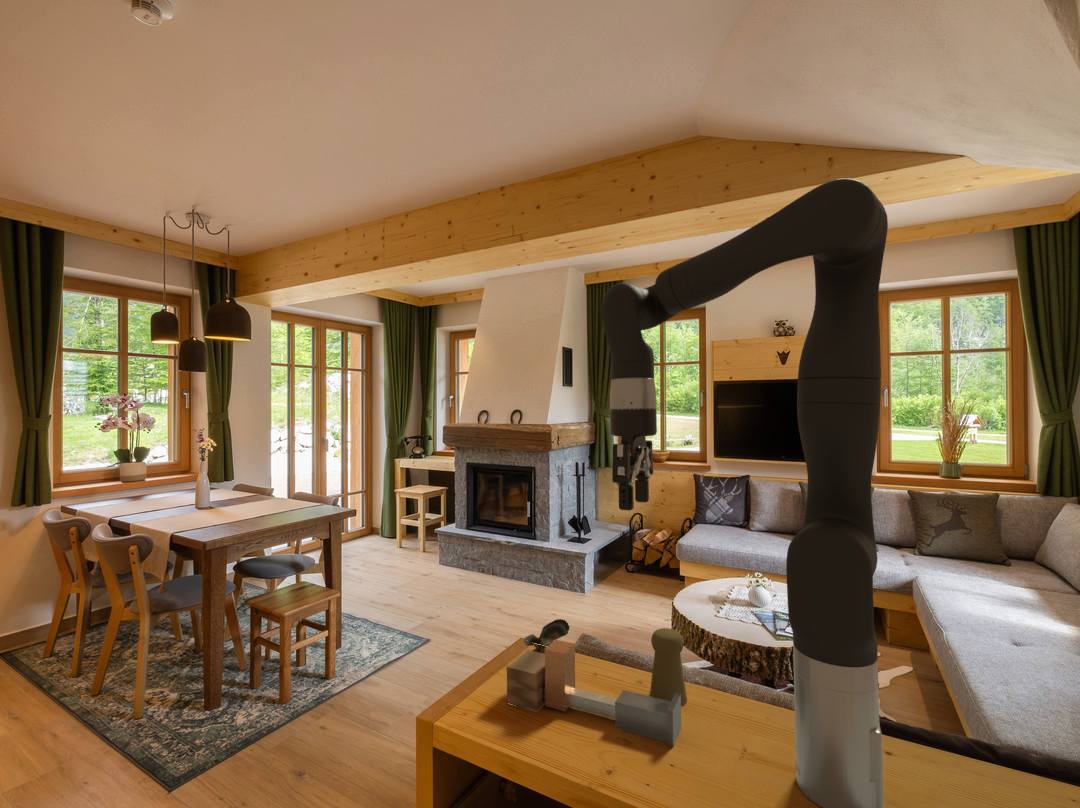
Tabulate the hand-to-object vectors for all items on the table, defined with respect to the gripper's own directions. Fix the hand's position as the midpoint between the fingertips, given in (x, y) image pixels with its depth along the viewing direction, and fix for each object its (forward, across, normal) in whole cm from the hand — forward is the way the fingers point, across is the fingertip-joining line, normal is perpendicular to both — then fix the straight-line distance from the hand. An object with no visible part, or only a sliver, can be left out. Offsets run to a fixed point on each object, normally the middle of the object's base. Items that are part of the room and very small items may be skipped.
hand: (634, 505), depth 86 cm
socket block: (+32, -6, +16) cm, 36 cm away
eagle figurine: (+32, +9, +21) cm, 40 cm away
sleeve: (+32, -6, -3) cm, 33 cm away
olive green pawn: (+32, +4, -4) cm, 33 cm away
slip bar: (+32, -6, +8) cm, 33 cm away
